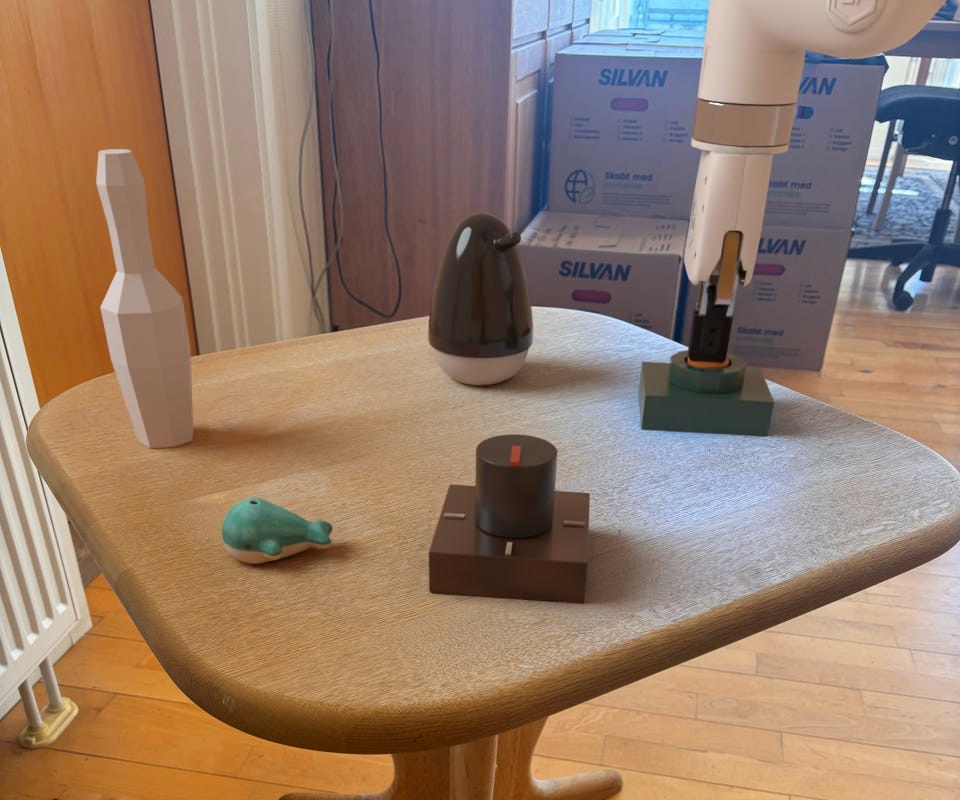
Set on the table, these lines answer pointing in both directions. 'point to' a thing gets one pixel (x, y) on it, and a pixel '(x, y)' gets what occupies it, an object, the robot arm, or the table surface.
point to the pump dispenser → (481, 304)
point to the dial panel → (511, 553)
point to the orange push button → (708, 364)
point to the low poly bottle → (143, 313)
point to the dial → (515, 485)
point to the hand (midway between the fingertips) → (706, 358)
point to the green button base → (704, 398)
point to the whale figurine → (270, 532)
